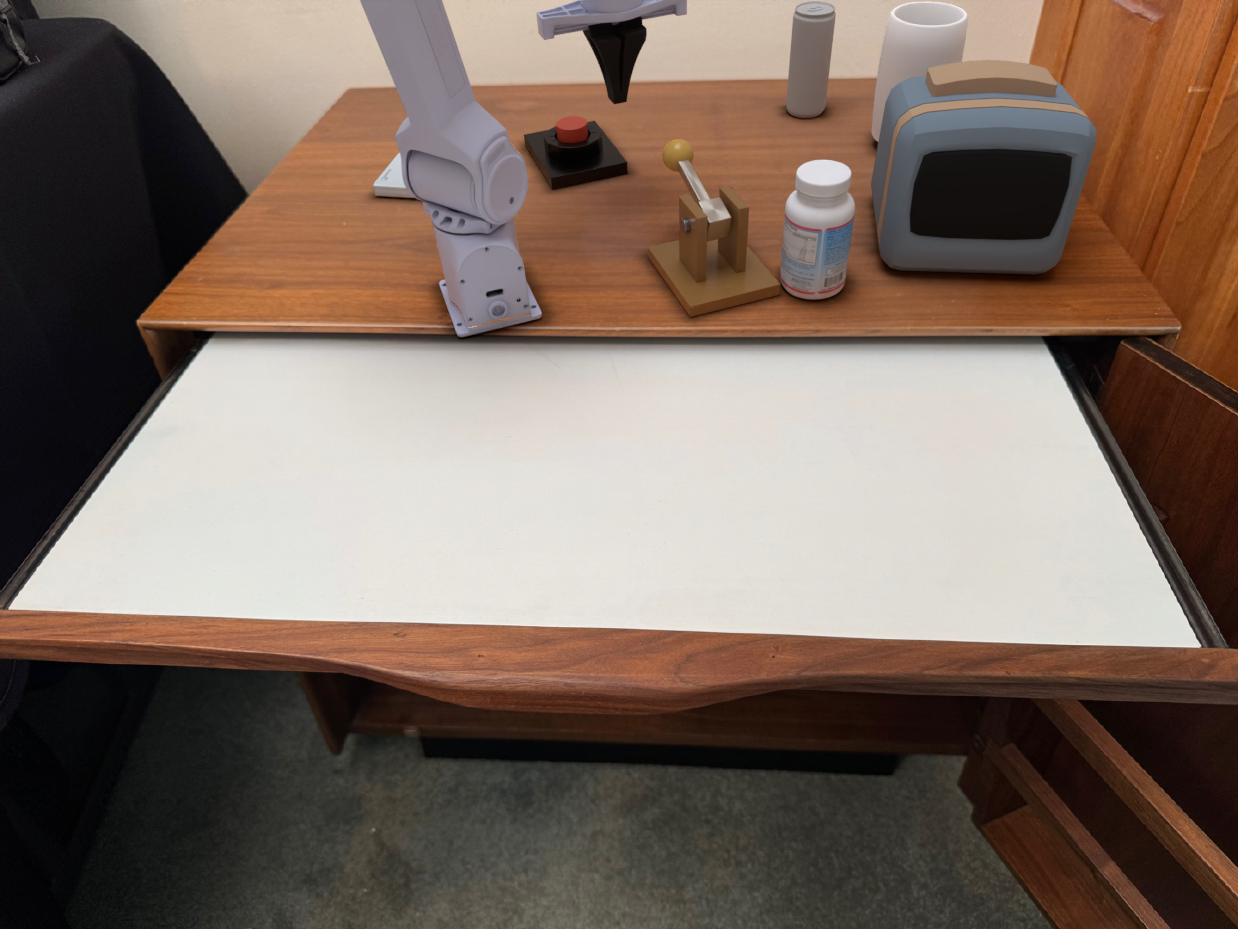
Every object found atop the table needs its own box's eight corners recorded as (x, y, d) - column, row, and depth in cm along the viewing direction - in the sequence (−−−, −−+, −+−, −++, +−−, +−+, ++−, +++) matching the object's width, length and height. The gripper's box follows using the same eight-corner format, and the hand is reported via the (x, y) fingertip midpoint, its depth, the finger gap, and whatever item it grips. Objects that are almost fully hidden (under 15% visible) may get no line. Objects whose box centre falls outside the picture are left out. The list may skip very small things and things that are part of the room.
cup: (854, 135, 104) (872, 6, 94) (919, 123, 105) (944, -5, 95) (888, 166, 98) (912, 32, 88) (957, 154, 99) (987, 20, 89)
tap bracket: (648, 257, 88) (645, 184, 82) (731, 237, 89) (734, 165, 84) (690, 317, 80) (690, 241, 75) (779, 294, 82) (786, 219, 76)
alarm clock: (876, 277, 83) (907, 111, 72) (866, 192, 94) (891, 37, 83) (1060, 283, 81) (1120, 112, 70) (1026, 195, 92) (1074, 36, 81)
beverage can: (778, 108, 110) (785, 5, 102) (810, 99, 112) (820, -3, 103) (799, 122, 107) (809, 17, 99) (832, 113, 108) (845, 9, 100)
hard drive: (371, 184, 98) (476, 190, 96) (399, 150, 104) (499, 155, 102) (375, 197, 99) (479, 203, 97) (403, 163, 105) (501, 168, 103)
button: (592, 140, 101) (591, 125, 100) (562, 146, 100) (560, 131, 99) (583, 128, 103) (581, 113, 102) (553, 134, 102) (552, 119, 101)
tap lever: (656, 160, 86) (659, 135, 84) (685, 154, 87) (688, 129, 84) (701, 245, 81) (705, 220, 78) (731, 238, 81) (736, 213, 79)
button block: (627, 173, 100) (626, 148, 98) (552, 189, 99) (549, 164, 96) (595, 131, 108) (593, 107, 106) (525, 145, 107) (521, 121, 105)
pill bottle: (836, 263, 85) (852, 152, 77) (850, 300, 81) (868, 186, 73) (773, 267, 85) (782, 157, 77) (784, 304, 81) (795, 191, 73)
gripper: (667, -72, 84) (668, 72, 94) (521, -49, 81) (538, 98, 91) (696, -54, 80) (694, 97, 89) (542, -28, 77) (558, 124, 86)
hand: (617, 99), depth 90 cm, fingers closed
